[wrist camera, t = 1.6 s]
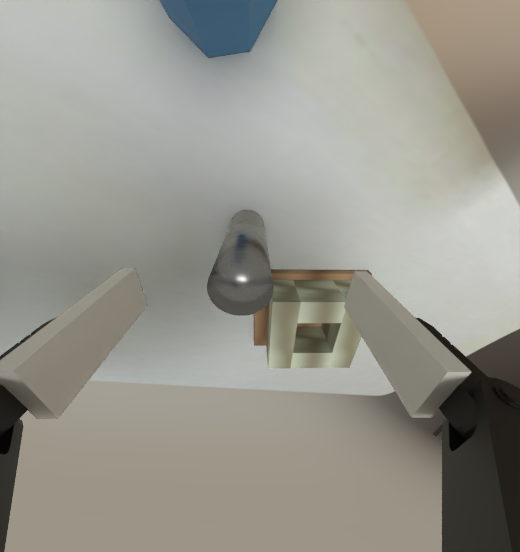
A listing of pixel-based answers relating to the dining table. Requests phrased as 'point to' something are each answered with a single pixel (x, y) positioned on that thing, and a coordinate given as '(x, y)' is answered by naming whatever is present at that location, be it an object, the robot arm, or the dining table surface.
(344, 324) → the socket
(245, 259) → the peg
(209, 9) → the water bottle
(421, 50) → the dining table surface
